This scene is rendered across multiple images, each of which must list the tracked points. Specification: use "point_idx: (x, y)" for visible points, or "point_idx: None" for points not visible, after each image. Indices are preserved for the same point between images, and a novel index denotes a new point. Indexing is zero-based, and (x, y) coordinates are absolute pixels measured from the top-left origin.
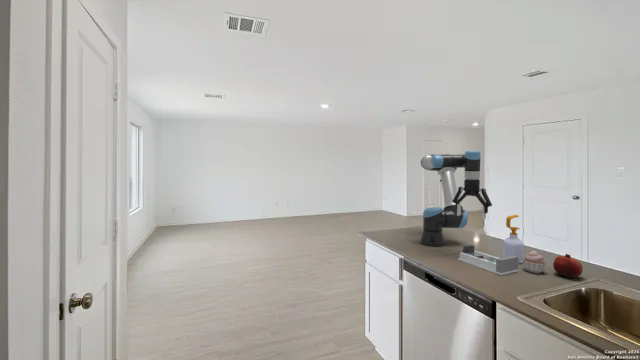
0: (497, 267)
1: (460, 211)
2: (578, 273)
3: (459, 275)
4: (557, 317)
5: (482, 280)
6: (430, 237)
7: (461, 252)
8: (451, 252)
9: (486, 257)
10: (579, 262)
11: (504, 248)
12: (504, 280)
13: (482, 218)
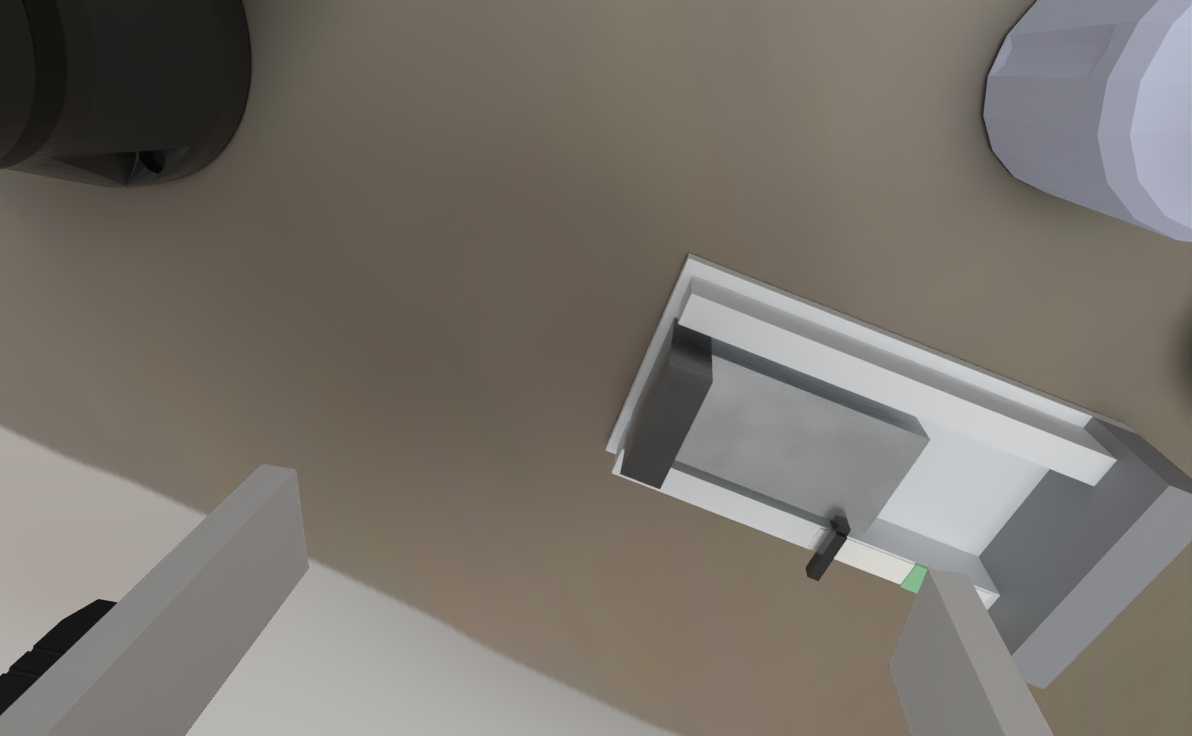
0: None
1: (236, 557)
2: None
3: (740, 722)
4: None
5: (883, 727)
6: (88, 171)
7: (619, 456)
8: (454, 248)
9: (871, 493)
10: None
11: (1070, 182)
12: None
13: (904, 685)
